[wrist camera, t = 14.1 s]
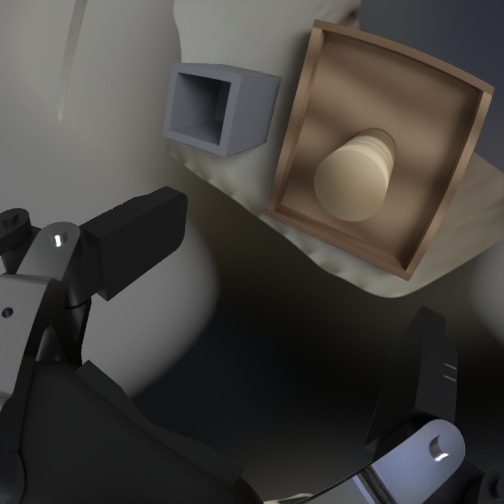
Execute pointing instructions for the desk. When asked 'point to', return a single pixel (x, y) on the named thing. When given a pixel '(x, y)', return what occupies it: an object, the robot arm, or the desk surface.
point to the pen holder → (219, 107)
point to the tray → (390, 120)
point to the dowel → (356, 175)
